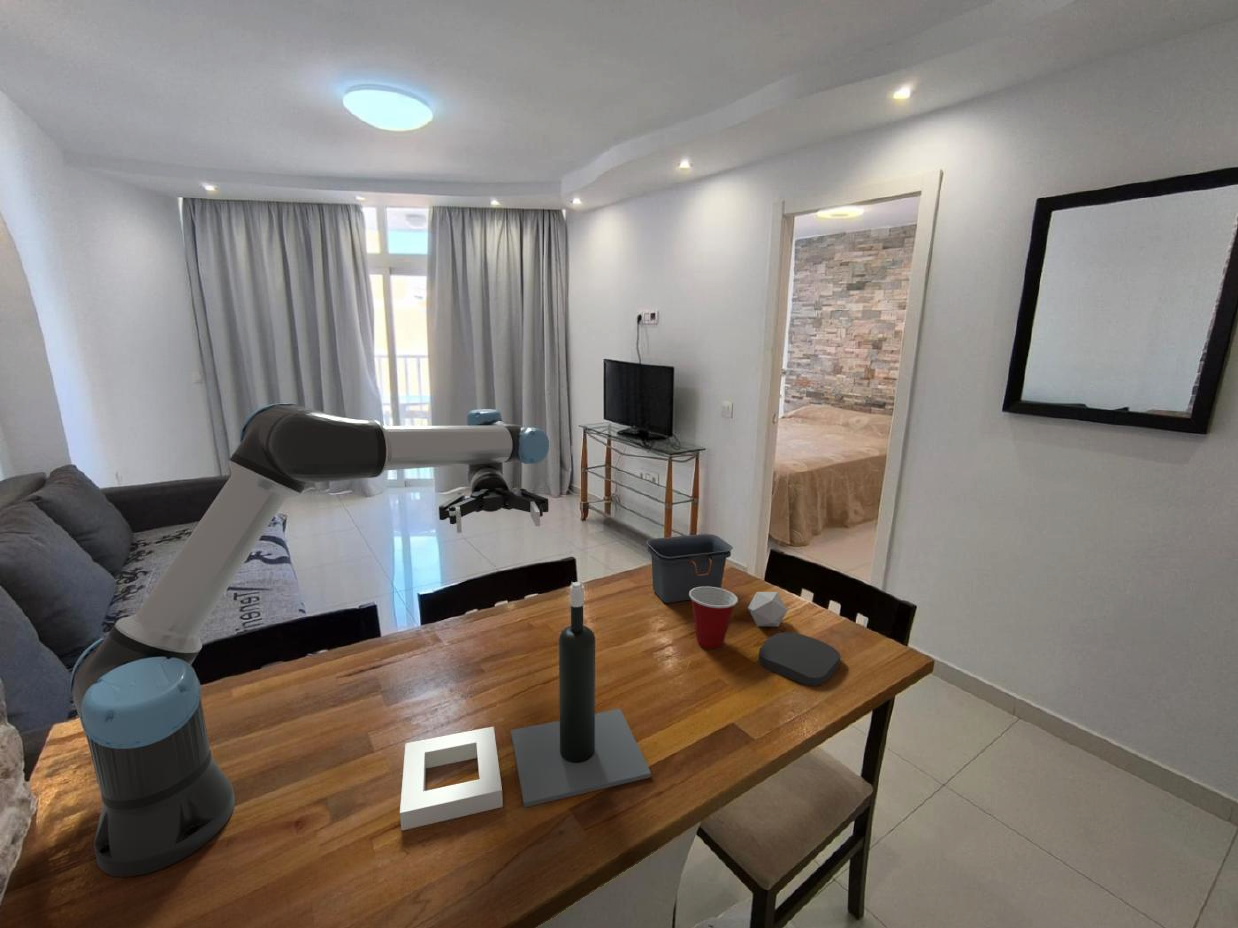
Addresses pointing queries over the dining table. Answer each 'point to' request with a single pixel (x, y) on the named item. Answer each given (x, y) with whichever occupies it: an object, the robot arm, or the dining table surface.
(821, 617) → the dining table surface
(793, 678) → the media streaming box
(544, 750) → the coaster mat
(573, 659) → the wine bottle
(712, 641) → the plastic cup
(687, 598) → the storage bin
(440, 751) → the frame
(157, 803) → the robot arm
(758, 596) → the die
